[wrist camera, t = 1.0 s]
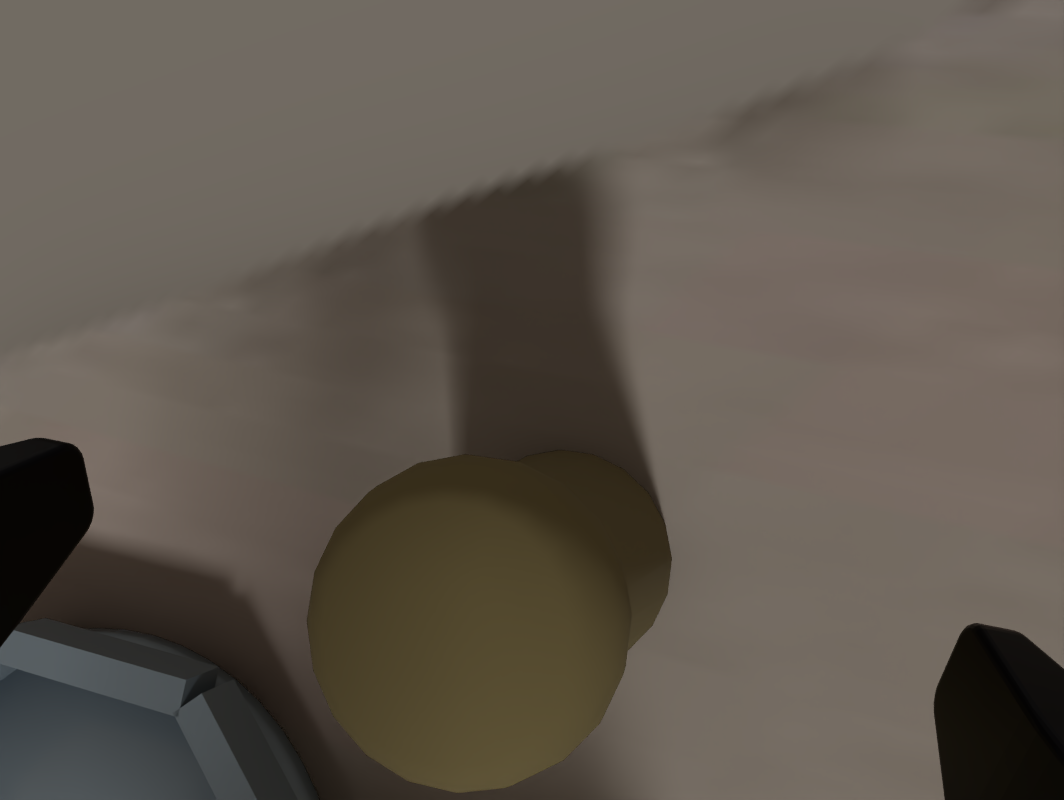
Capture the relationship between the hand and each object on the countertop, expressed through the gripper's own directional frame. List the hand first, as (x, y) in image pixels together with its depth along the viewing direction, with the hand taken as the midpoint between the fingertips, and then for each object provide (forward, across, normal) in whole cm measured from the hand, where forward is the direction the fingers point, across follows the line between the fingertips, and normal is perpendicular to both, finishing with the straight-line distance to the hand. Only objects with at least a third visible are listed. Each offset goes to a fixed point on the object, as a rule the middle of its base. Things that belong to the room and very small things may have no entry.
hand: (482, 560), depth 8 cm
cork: (+11, 0, +9) cm, 14 cm away
